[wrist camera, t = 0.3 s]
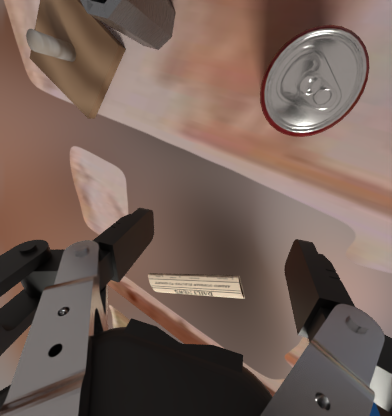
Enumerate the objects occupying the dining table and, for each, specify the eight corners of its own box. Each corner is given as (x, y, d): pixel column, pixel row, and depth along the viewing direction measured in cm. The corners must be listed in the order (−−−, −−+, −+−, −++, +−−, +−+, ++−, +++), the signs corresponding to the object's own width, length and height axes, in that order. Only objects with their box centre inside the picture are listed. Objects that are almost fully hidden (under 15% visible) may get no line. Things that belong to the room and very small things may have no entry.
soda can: (252, 103, 26) (240, 94, 16) (299, 49, 22) (325, -10, 12) (288, 141, 26) (300, 156, 16) (341, 94, 23) (400, 75, 12)
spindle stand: (56, -27, 27) (-3, -66, 21) (125, 49, 28) (87, 30, 22) (38, 60, 34) (-10, 48, 28) (94, 118, 35) (59, 118, 29)
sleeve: (158, -25, 24) (96, -105, 15) (181, 27, 25) (136, -20, 17) (127, 13, 26) (60, -36, 18) (149, 58, 28) (97, 32, 19)
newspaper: (239, 273, 40) (237, 279, 38) (245, 298, 42) (244, 305, 41) (150, 271, 50) (146, 276, 48) (159, 291, 52) (156, 297, 50)
